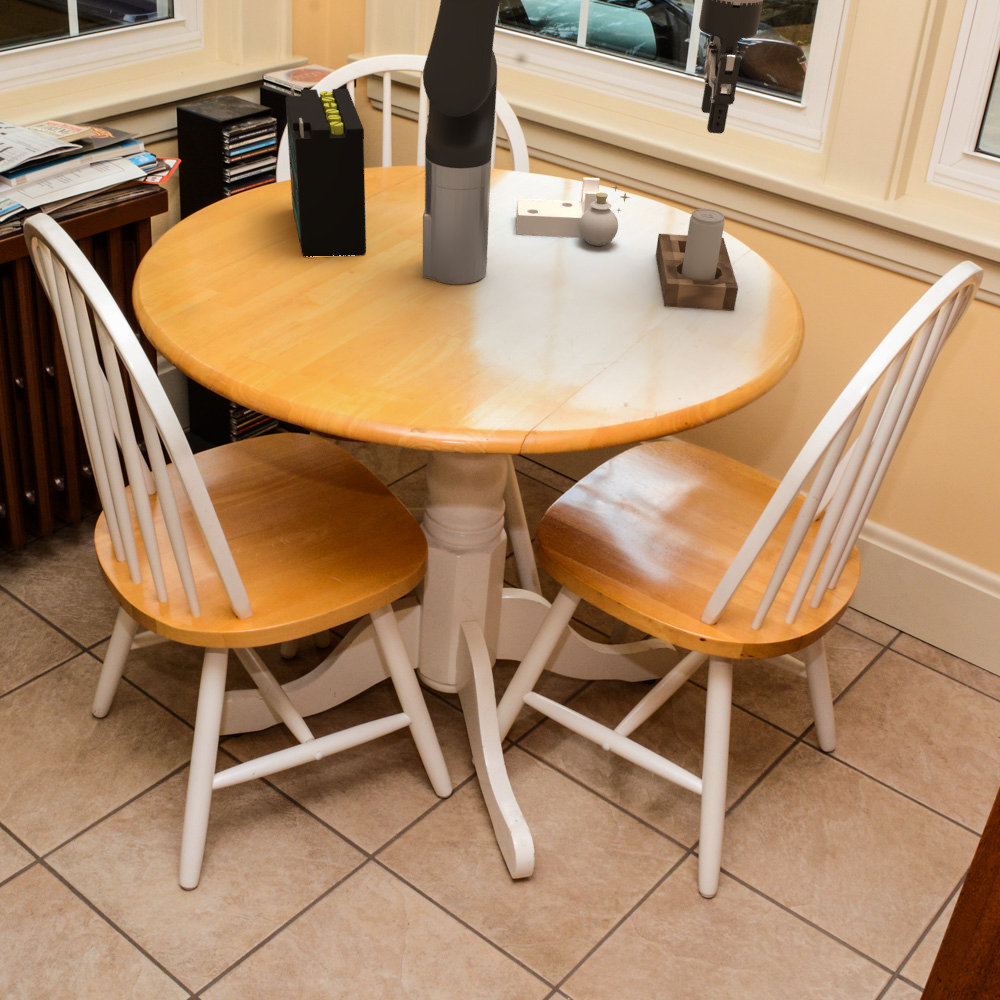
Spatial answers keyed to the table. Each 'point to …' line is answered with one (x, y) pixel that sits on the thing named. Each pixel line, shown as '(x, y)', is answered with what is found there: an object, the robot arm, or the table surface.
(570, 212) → the bracket
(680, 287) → the walnut bore block
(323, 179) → the battery
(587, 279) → the table surface
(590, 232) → the round potion bottle
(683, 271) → the beverage can
